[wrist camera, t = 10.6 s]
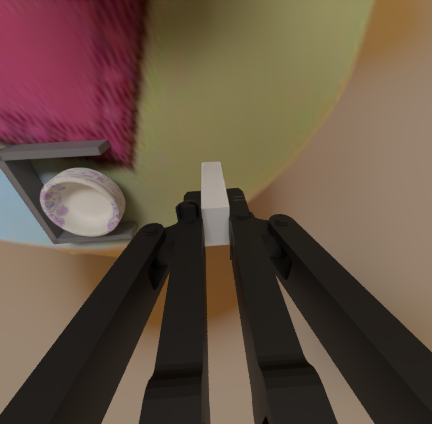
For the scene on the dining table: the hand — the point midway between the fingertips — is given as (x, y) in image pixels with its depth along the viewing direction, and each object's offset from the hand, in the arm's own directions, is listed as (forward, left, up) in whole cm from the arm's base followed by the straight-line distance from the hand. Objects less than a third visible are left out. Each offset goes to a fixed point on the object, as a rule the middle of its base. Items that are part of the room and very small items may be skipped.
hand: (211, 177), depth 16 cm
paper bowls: (+15, -27, -29) cm, 43 cm away
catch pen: (+15, -30, -28) cm, 44 cm away
